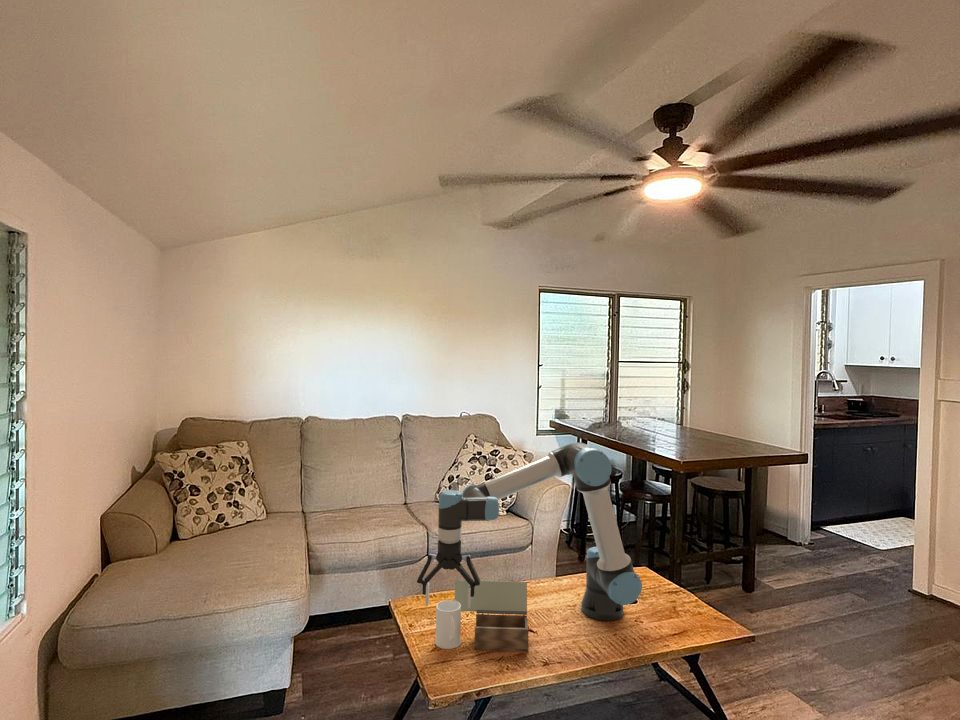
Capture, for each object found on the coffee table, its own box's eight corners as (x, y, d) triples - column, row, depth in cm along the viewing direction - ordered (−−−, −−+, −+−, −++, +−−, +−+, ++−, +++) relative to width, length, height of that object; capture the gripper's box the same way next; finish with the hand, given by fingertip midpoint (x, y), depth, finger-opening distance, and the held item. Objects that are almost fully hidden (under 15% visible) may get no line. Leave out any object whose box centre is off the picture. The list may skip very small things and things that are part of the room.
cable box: (527, 636, 176) (527, 615, 176) (528, 651, 168) (528, 629, 167) (476, 634, 177) (476, 614, 177) (474, 649, 168) (474, 627, 168)
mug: (464, 653, 166) (464, 615, 166) (437, 656, 165) (437, 617, 164) (459, 634, 178) (459, 598, 178) (433, 636, 176) (434, 600, 176)
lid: (527, 614, 176) (526, 614, 179) (526, 582, 180) (526, 581, 182) (453, 612, 178) (454, 611, 180) (455, 580, 181) (455, 579, 183)
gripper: (488, 537, 174) (487, 601, 174) (413, 534, 175) (411, 598, 175) (487, 545, 167) (486, 612, 167) (409, 542, 168) (407, 609, 168)
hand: (448, 605), depth 171 cm, fingers open, 13 cm apart
